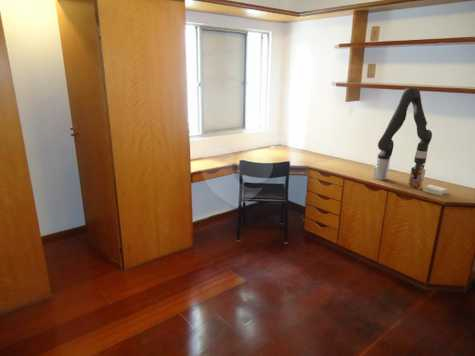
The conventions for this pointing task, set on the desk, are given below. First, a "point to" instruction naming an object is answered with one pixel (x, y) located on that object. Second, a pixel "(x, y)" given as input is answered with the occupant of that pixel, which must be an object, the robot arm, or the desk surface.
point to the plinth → (434, 190)
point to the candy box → (419, 181)
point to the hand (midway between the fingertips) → (416, 178)
